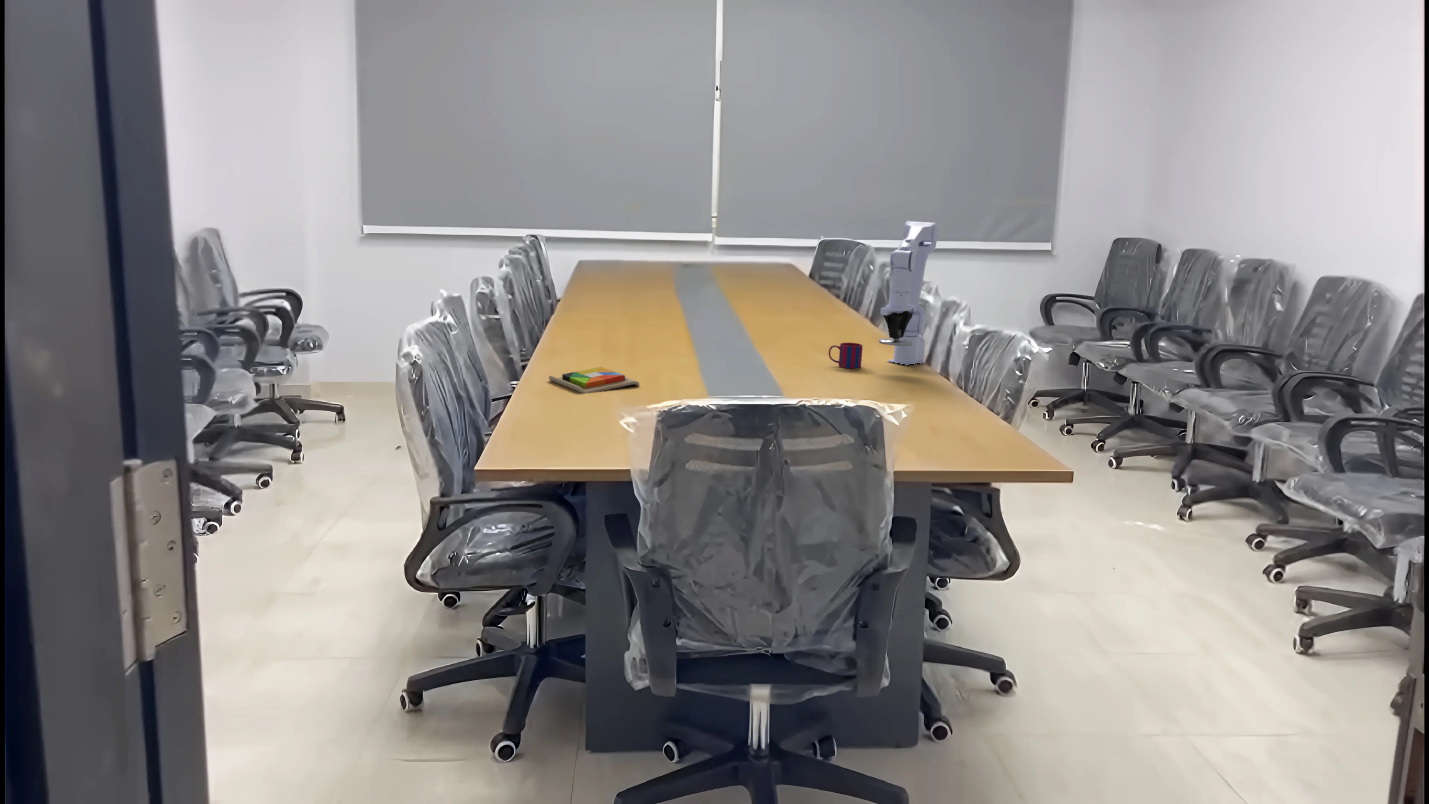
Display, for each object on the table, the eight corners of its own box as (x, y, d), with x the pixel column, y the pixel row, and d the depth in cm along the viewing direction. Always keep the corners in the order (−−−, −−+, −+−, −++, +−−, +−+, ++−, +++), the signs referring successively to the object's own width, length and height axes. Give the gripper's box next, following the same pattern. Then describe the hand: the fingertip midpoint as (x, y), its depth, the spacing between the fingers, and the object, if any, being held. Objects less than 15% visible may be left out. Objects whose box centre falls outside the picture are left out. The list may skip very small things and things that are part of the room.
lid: (892, 339, 327) (893, 325, 326) (919, 344, 320) (921, 330, 319) (871, 341, 320) (873, 327, 319) (899, 346, 313) (900, 332, 312)
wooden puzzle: (546, 382, 291) (546, 369, 291) (606, 375, 303) (607, 363, 302) (579, 395, 278) (580, 382, 277) (641, 388, 289) (641, 375, 288)
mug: (861, 369, 324) (863, 347, 323) (827, 367, 325) (829, 345, 323) (860, 365, 331) (862, 343, 329) (827, 363, 331) (829, 341, 330)
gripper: (903, 288, 324) (900, 333, 327) (873, 291, 315) (870, 337, 318) (923, 291, 319) (919, 336, 323) (893, 294, 310) (889, 341, 313)
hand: (896, 337), depth 320 cm, fingers closed on lid, 3 cm apart
